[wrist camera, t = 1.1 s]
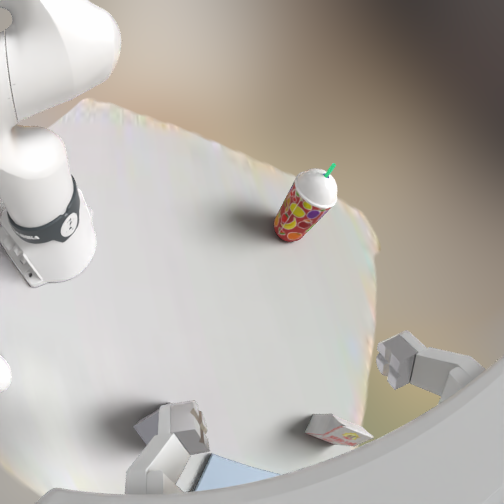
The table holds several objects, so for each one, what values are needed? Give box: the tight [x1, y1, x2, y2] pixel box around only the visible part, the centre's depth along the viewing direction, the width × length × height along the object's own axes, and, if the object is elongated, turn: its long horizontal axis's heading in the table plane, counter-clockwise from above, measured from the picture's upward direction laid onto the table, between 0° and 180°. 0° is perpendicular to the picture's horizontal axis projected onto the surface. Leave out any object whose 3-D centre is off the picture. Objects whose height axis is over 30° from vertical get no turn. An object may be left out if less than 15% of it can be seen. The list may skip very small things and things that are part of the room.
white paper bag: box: [305, 414, 373, 446], centre depth 38 cm, size 4×7×10 cm, turn 62°
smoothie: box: [274, 163, 337, 242], centre depth 53 cm, size 8×8×20 cm
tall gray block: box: [133, 403, 173, 445], centre depth 31 cm, size 6×6×10 cm
